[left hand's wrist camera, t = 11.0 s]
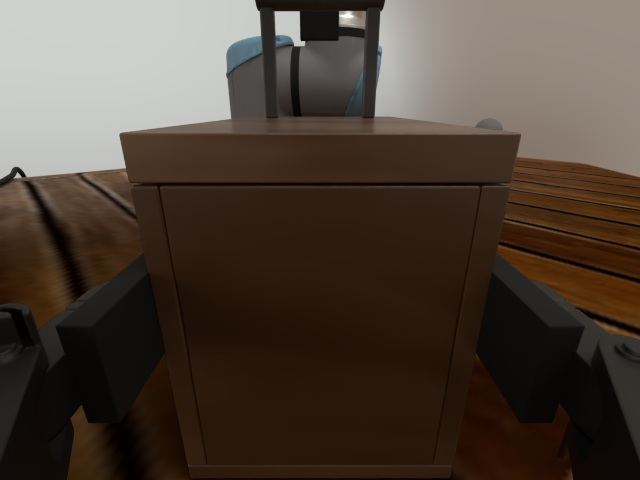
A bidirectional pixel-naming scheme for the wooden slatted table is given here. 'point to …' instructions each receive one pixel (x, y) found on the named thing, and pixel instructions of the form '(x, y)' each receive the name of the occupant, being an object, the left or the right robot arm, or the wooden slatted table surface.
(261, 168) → the lid
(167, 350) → the chest
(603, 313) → the wooden slatted table surface
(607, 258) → the wooden slatted table surface
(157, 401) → the wooden slatted table surface
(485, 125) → the light bulb
